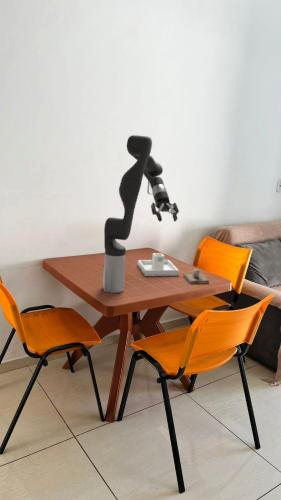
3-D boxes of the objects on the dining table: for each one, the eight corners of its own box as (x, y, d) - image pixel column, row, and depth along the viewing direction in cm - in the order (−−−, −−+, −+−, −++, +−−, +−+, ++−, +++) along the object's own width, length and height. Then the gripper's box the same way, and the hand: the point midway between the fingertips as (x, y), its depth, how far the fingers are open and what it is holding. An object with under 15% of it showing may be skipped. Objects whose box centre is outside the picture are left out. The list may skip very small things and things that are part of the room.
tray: (145, 276, 196) (145, 270, 195) (137, 265, 212) (137, 260, 212) (178, 275, 200) (178, 270, 199) (168, 265, 217) (168, 259, 216)
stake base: (189, 283, 189) (190, 273, 188) (183, 276, 198) (184, 266, 197) (208, 283, 191) (209, 272, 190) (201, 276, 201) (202, 266, 199)
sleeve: (155, 271, 202) (156, 256, 200) (151, 267, 208) (152, 253, 206) (164, 270, 203) (165, 256, 201) (160, 267, 209) (161, 253, 207)
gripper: (150, 190, 196) (158, 216, 188) (175, 190, 201) (183, 216, 194) (145, 199, 202) (153, 224, 194) (169, 199, 207) (177, 224, 200)
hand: (168, 220), depth 194 cm, fingers open, 8 cm apart
